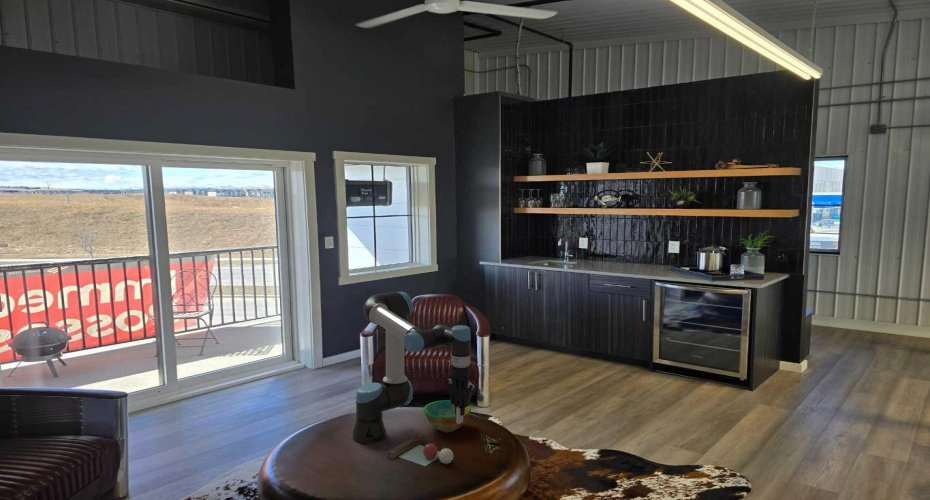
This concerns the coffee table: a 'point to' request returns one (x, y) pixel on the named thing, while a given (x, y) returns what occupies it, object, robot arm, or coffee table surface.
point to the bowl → (444, 415)
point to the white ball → (446, 456)
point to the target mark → (418, 456)
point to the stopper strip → (404, 447)
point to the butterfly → (491, 447)
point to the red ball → (430, 451)
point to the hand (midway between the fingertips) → (459, 422)
